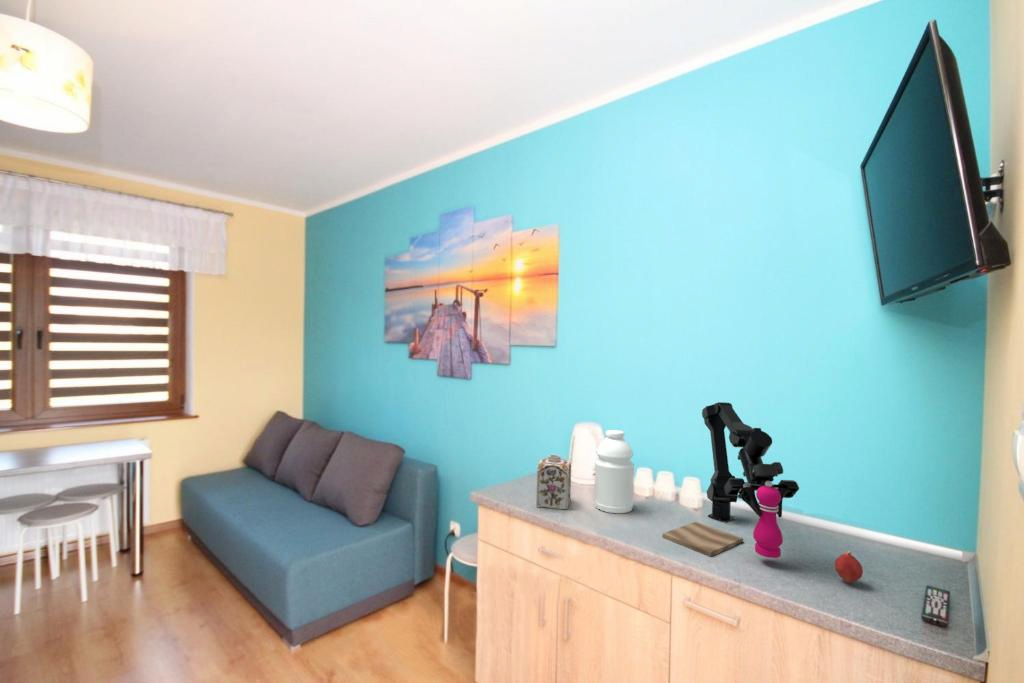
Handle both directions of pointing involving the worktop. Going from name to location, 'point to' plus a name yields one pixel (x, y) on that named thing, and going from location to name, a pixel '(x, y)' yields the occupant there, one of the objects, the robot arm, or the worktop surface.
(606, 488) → the bottle
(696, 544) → the tan cloth
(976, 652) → the worktop surface
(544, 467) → the decorative jar
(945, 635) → the worktop surface
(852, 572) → the onion
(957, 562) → the worktop surface
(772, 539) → the pepper mill
